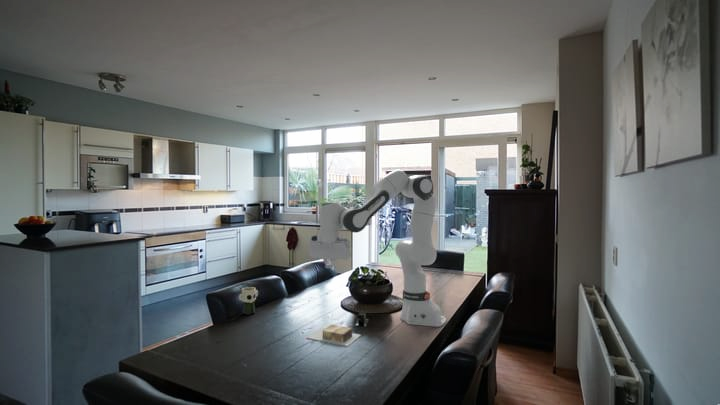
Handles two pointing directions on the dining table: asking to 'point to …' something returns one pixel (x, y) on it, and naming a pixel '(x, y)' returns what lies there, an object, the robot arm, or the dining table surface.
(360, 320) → the black box
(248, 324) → the dining table surface
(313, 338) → the felt mat
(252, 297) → the character mug
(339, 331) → the oak slab
